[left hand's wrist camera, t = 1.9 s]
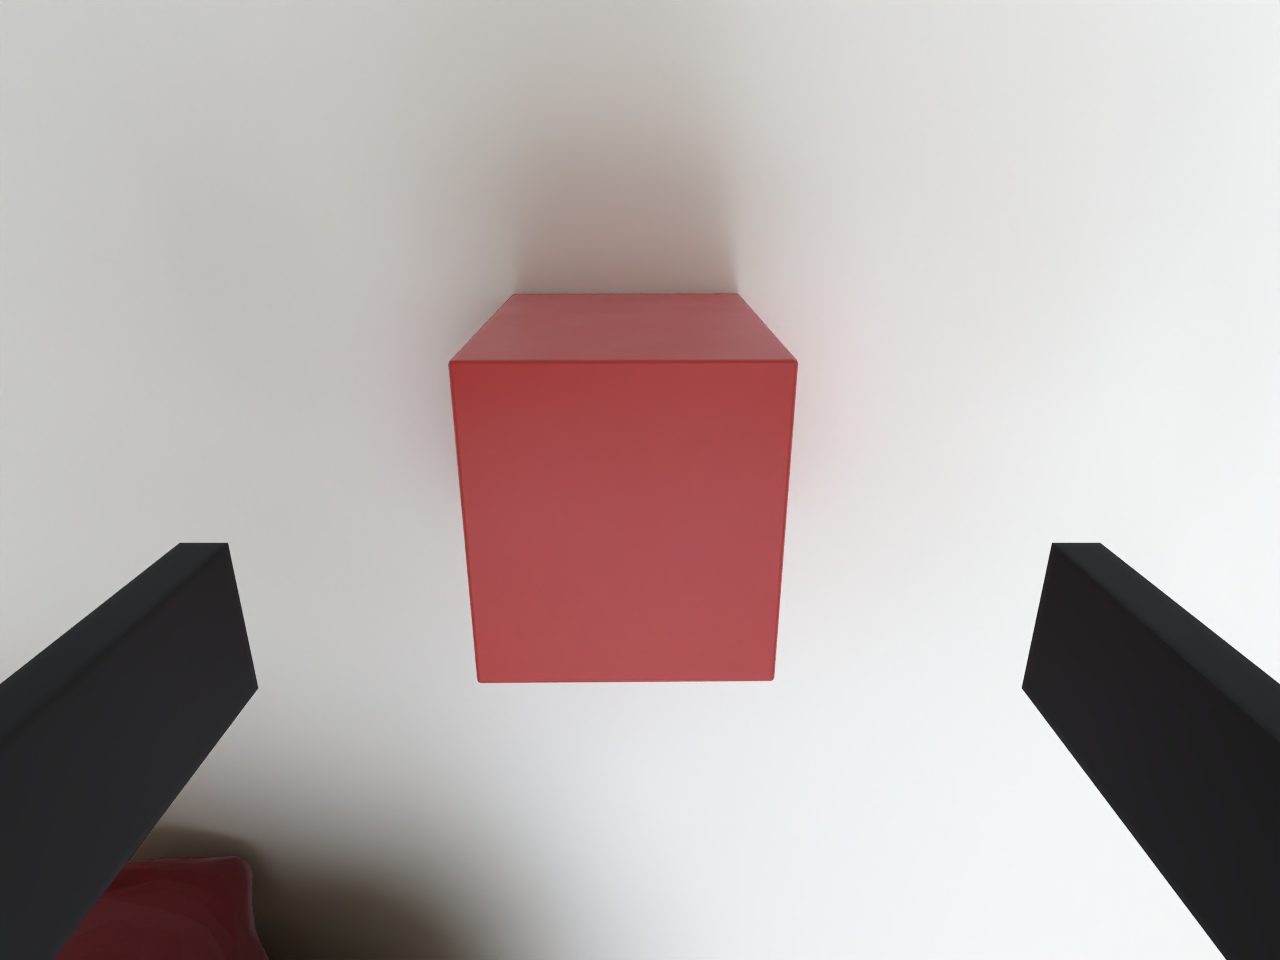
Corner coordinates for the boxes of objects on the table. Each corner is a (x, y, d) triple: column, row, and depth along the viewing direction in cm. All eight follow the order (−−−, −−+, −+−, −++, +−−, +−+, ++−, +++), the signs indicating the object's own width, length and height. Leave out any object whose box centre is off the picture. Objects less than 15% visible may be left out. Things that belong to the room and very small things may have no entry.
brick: (729, 520, 24) (774, 682, 16) (525, 521, 24) (476, 684, 16) (739, 293, 21) (799, 360, 14) (512, 294, 21) (446, 361, 14)
